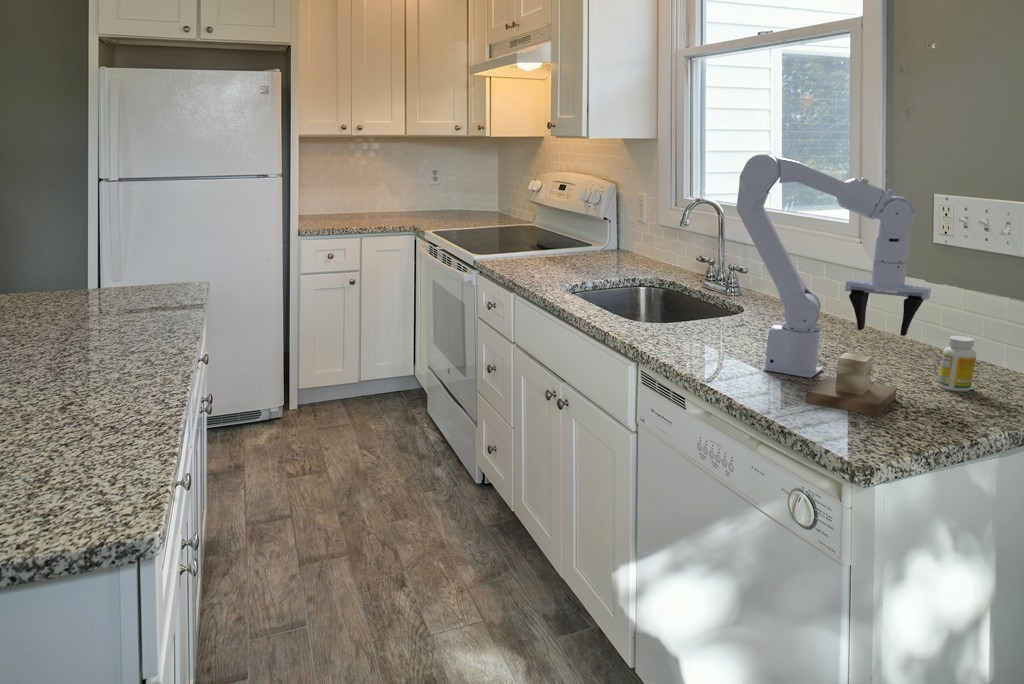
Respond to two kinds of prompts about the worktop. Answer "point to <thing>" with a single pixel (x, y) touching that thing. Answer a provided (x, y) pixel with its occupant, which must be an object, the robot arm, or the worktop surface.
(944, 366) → the supplement bottle
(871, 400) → the walnut plinth
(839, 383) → the beech block
